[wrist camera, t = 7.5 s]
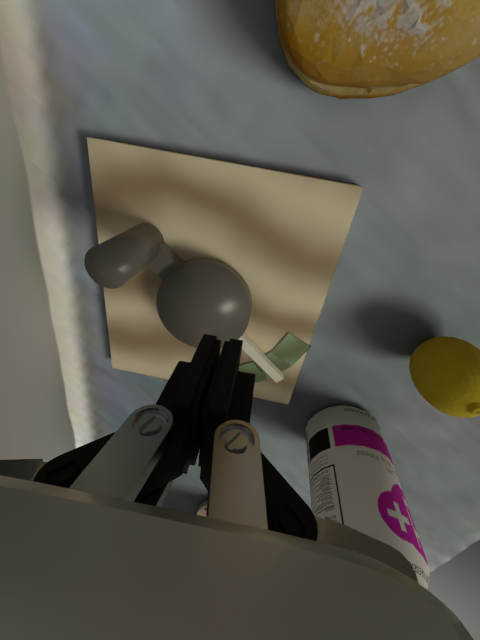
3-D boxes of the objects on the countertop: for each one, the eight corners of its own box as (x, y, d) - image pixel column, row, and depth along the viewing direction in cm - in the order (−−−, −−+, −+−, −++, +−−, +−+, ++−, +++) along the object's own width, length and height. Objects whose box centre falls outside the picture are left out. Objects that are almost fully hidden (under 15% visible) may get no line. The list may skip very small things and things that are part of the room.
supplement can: (361, 392, 31) (418, 565, 18) (387, 438, 34) (452, 615, 21) (293, 413, 34) (299, 575, 21) (323, 454, 37) (344, 617, 24)
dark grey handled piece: (313, 356, 27) (321, 408, 21) (249, 391, 30) (242, 444, 25) (165, 191, 21) (125, 205, 16) (107, 257, 25) (57, 288, 19)
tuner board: (290, 396, 32) (290, 406, 31) (117, 361, 33) (111, 368, 32) (362, 186, 21) (367, 188, 20) (96, 137, 22) (85, 137, 20)
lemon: (385, 341, 27) (420, 405, 20) (446, 309, 25) (508, 369, 18) (414, 377, 29) (455, 447, 22) (474, 350, 26) (540, 419, 20)
